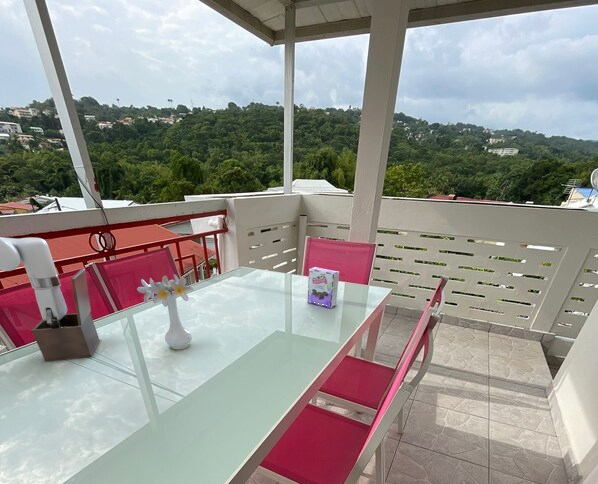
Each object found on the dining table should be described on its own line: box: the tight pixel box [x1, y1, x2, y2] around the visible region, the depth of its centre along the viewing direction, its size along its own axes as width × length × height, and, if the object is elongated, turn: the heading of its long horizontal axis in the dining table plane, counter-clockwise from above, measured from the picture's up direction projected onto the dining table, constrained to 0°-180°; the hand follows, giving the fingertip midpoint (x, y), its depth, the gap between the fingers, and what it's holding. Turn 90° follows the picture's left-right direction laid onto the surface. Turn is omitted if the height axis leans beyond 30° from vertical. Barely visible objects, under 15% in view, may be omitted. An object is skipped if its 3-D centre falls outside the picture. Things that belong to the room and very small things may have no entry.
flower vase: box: [136, 273, 194, 351], centre depth 114 cm, size 13×18×25 cm
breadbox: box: [31, 312, 100, 362], centre depth 113 cm, size 14×14×11 cm
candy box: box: [307, 266, 340, 309], centre depth 160 cm, size 14×6×16 cm, turn 55°
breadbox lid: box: [70, 267, 92, 325], centre depth 108 cm, size 15×14×1 cm
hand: (64, 335), depth 113 cm, fingers open, 6 cm apart
